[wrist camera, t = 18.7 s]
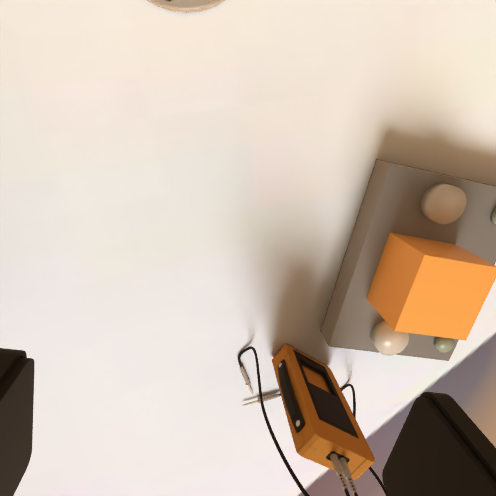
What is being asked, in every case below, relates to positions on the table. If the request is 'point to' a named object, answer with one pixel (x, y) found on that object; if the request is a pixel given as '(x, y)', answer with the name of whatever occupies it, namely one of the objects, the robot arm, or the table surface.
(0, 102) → the table surface
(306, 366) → the multimeter
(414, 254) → the orange block
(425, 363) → the table surface
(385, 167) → the grey flat block
